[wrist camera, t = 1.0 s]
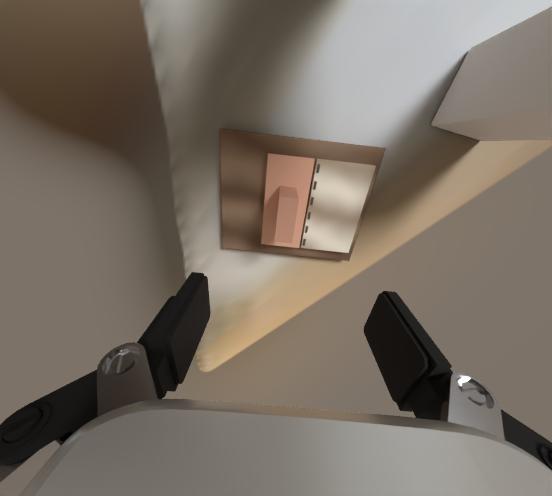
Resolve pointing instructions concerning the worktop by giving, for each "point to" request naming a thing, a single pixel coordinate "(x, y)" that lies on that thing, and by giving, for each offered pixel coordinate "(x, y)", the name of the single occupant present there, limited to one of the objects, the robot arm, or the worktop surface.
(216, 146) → the worktop surface
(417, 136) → the worktop surface
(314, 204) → the board
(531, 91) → the milk carton
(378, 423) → the robot arm
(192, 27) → the worktop surface
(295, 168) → the stub
